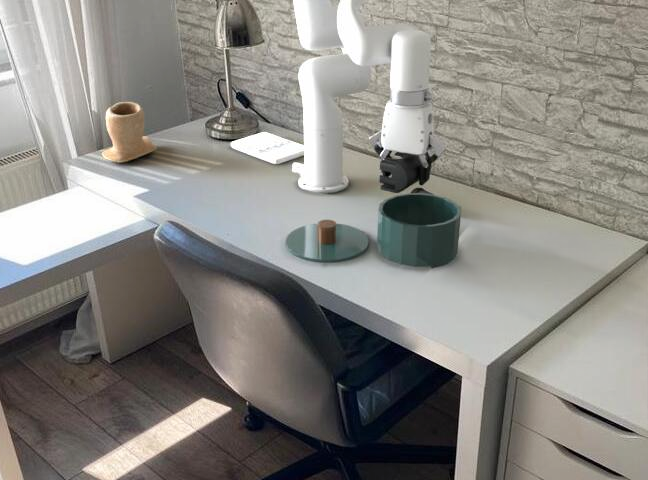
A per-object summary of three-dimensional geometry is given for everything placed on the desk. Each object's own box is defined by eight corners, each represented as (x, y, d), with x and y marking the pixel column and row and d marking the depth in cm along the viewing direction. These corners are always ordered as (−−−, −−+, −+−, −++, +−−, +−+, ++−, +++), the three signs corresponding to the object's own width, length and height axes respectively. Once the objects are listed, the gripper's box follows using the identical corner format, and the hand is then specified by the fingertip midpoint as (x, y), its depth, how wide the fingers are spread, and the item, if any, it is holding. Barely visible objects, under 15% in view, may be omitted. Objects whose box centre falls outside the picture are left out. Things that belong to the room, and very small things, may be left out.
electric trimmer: (452, 221, 181) (453, 208, 180) (407, 199, 192) (407, 186, 190) (464, 217, 183) (465, 204, 181) (418, 195, 194) (419, 183, 192)
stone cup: (123, 169, 211) (115, 114, 203) (97, 159, 218) (88, 105, 210) (168, 154, 220) (162, 101, 213) (141, 145, 227) (135, 93, 220)
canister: (363, 258, 166) (365, 216, 161) (396, 227, 178) (398, 187, 174) (439, 276, 159) (443, 233, 154) (468, 242, 171) (472, 202, 166)
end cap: (407, 197, 162) (409, 165, 158) (377, 190, 165) (378, 159, 162) (431, 182, 169) (433, 151, 165) (401, 175, 172) (403, 145, 169)
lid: (269, 253, 168) (268, 231, 165) (310, 221, 181) (310, 200, 179) (344, 272, 160) (345, 249, 158) (381, 237, 174) (382, 216, 171)
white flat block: (265, 136, 233) (264, 130, 232) (312, 153, 220) (312, 146, 219) (229, 147, 225) (229, 141, 224) (276, 165, 212) (275, 158, 211)
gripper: (457, 96, 157) (450, 181, 165) (376, 86, 164) (374, 167, 173) (443, 106, 151) (437, 193, 160) (361, 95, 158) (359, 179, 167)
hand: (405, 179), depth 166 cm, fingers closed on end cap, 7 cm apart
